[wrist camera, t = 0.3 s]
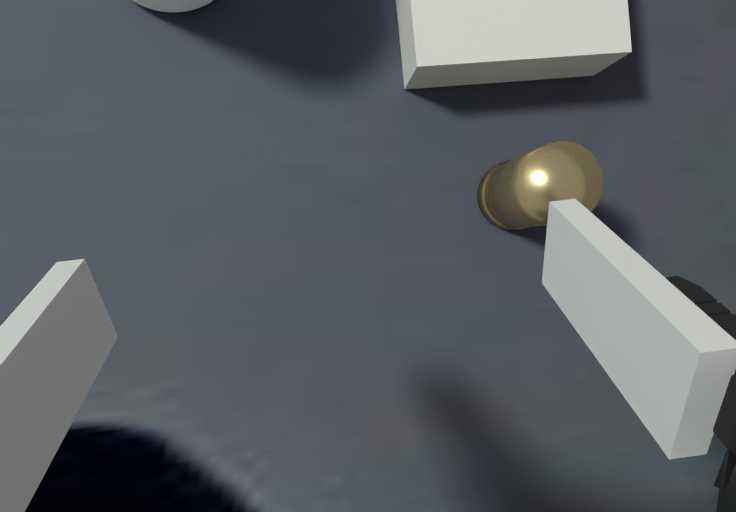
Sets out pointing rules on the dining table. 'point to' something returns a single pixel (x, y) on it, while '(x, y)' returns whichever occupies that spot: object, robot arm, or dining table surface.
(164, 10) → the mug
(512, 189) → the cylinder
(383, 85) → the dining table surface
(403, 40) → the block
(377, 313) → the dining table surface
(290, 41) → the dining table surface
